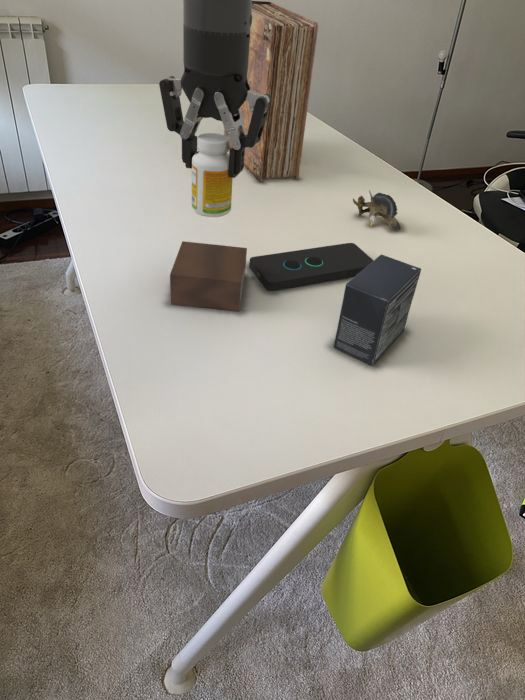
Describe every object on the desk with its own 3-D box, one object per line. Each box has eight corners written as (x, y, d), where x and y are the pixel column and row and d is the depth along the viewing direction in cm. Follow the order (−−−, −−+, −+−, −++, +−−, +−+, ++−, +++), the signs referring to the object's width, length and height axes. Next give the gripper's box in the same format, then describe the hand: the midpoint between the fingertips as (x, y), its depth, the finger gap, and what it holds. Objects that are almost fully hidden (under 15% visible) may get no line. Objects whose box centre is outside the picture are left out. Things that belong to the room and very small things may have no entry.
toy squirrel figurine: (347, 220, 104) (393, 225, 100) (355, 182, 104) (402, 186, 100) (359, 229, 111) (403, 234, 107) (367, 193, 110) (411, 198, 106)
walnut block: (170, 304, 80) (169, 274, 77) (182, 269, 88) (182, 241, 84) (239, 311, 80) (241, 282, 77) (244, 275, 88) (247, 247, 84)
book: (298, 180, 121) (319, 23, 102) (259, 182, 118) (273, 21, 99) (258, 140, 139) (269, 1, 120) (223, 142, 136) (229, -1, 117)
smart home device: (248, 256, 89) (352, 241, 96) (247, 265, 90) (350, 249, 97) (269, 282, 83) (379, 264, 91) (268, 292, 84) (376, 273, 92)
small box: (365, 313, 82) (380, 251, 76) (405, 331, 79) (424, 268, 73) (330, 347, 75) (343, 281, 69) (372, 367, 72) (391, 301, 66)
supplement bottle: (238, 209, 76) (243, 138, 70) (215, 222, 73) (218, 148, 67) (207, 198, 78) (209, 128, 72) (183, 210, 75) (183, 137, 69)
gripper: (143, 17, 60) (149, 169, 71) (267, 37, 57) (254, 192, 68) (173, 10, 66) (174, 152, 76) (287, 28, 63) (273, 172, 74)
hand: (212, 170), depth 72 cm, fingers closed on supplement bottle, 5 cm apart
